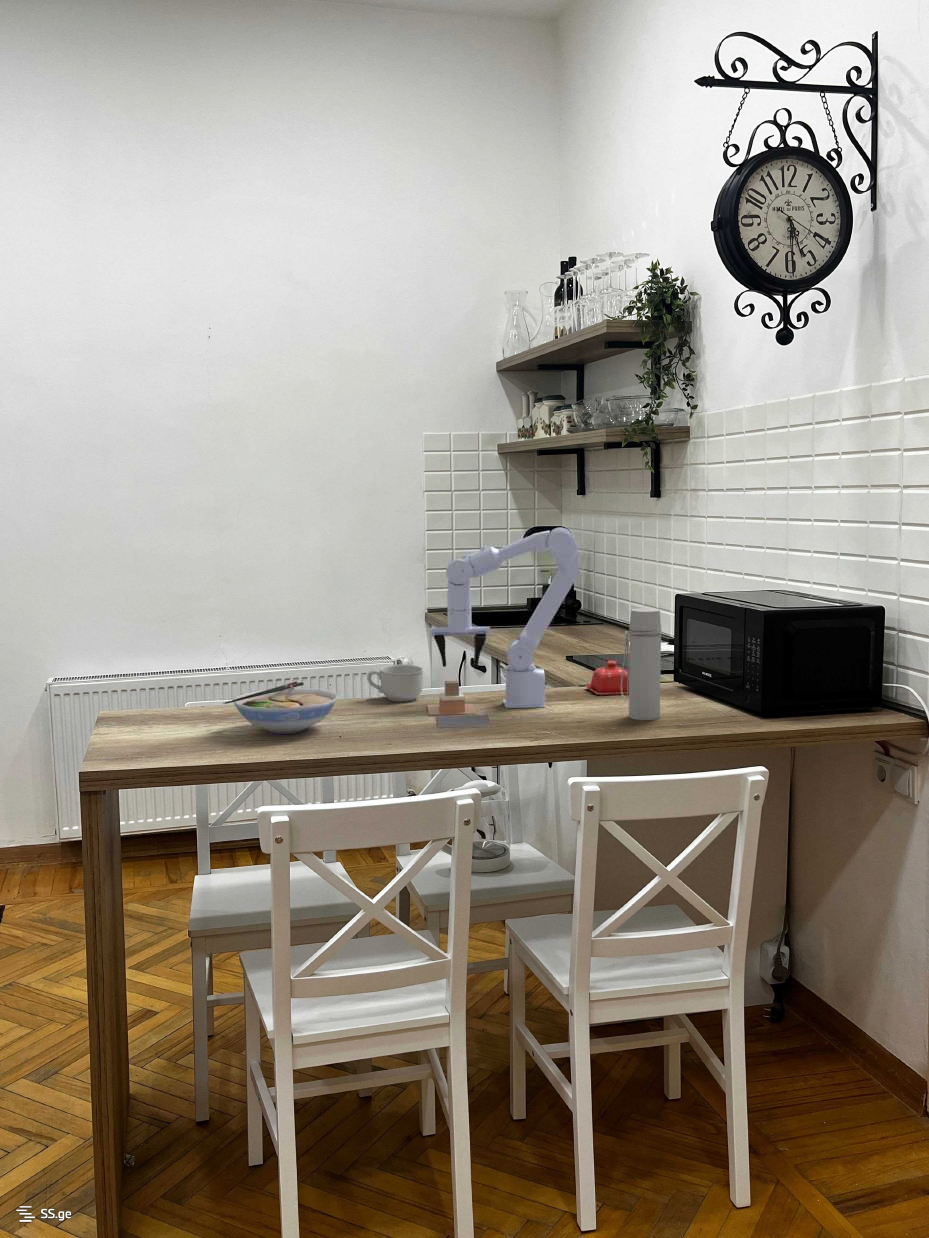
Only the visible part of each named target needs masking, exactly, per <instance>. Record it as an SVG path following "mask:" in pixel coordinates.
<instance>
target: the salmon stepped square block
mask: <svg viewBox="0 0 929 1238" xmlns="http://www.w3.org/2000/svg"><path fill="white" fill-rule="evenodd" d="M426 707H427V711H428V716H429V717H436V716H463V715H478V714H477V711H476V708H475V706H474V704H473V703H466V699H465V700H445V701H442V699H441V698H440V693H439V694H437V704H427V705H426Z"/></svg>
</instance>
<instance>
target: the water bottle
mask: <svg viewBox="0 0 929 1238" xmlns="http://www.w3.org/2000/svg"><path fill="white" fill-rule="evenodd" d="M660 611H661V610H660V609H658V608H650V607H649V608H645V607H641V608H632V609H631V610H630V617H629V619H630V620H629V626H628V627H629V628H628V629H629V630H625V631H624V634H625V638H626V641H625V645H624V652H623V653H624V654H623V660H622V661H623V662H622V677H621V685H620V686H621V694H620V696H621V698H627V697H628V718H629V719H632V720H639V721H651V720H653V721H655V720H658V719H660V718H661V671H662V669H661V668H662V667H661V666H662V662H661V661H662V659H661V658H662V655H661V653H662V634H660V633H662V631H663V630H662V622H661V612H660ZM625 661H626V671H627V694H625V695H624V694H623V692H622V681H623V672H624V670H625ZM628 693H629V694H628Z"/></svg>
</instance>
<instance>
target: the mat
mask: <svg viewBox="0 0 929 1238" xmlns="http://www.w3.org/2000/svg"><path fill="white" fill-rule="evenodd" d="M435 719H436V723H437V728H438V729H450V728H451V729H453V728H455V729H456V728H459V729H460V728H480V727H481V728H482V727H486V726H491V725H493V724H492V721H491V719H490V717H489V715H488V714H476V715H447V716H435Z"/></svg>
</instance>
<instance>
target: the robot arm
mask: <svg viewBox="0 0 929 1238" xmlns="http://www.w3.org/2000/svg"><path fill="white" fill-rule="evenodd" d="M547 548H548V550H549V551H550V553H551V554H552V555H551V556H553V558H554V559H555V564H556V566H557V573H556V574H555V575H554V577H553V580H551V583H550V584H549V586H548V588H547V589H546V591H545V593H544V594H543V596H542V598H541V600H540V601H539V602H538V604H537V606H536V608H535V610H534V612H533V613H532V615H531V617H530V618H529V620H528V622H527V624H526V625H525V627H524V628H523V629H522V631H521V632H520V634H519V636H518V637H517V638H515V639H513V640H512V641H511V642H510V644H509V645H508V649H507V652H506V653H507V654H506V660H507V663H508V664H507V665H506V666H505V699H503V700H502V703H503V705H504V707H505V708H506V709H524V708H528V709H529V708H546V674H545V670H544V668H537V667H536V665H535V664H534V663H533V662H534V656H535V651H536V649H537V647H538V646H539V643H540V641H541V639H542V637H543V636H544V634H545V633H546V631H547V628H548V627H549V625H550V624H551V622H552V620H553V619H554V617H555V615H556V614H557V612H558V610H559V608H560V606H561V605H562V603H563V602H564V600H565V598H566V596H567V594H568V593H569V592H570V590H571V588H572V586H573V585H574V583H575V581H576V580H577V578H578V576H579V573H580V567H579V566H580V565H579V563H580V562H579V551H578V550H579V549H578V544H577V542H576V540H575V537H574V536H573V534H572V532H571V531H570V530H569V529H567V528H564V527H556V528H553V529H551V531H550V530H546V531H545V530H544V531H540V532H537V533H533V534H531V535H529V536H525V537H524V538H521V539H520V540H517V541H515V542H511V544H508V545H505V546H503V547H500V548H495V547H494V546H488V547H487V546H486V545H485V546H481V547H480V550H478V551H476V552H475V551H474V552H473V553H471V554H468V555H467V554H466V553H464V554H463V555H462V556H461V557H462V559H461V558H459V559H454V560H453V561H450V563H448V565H447V567H446V571H445V572H446V573H445V575H446V578H447V579H448V581H447V592H446V594H447V595H446V597H447V600H446V601H447V603H446V605H447V607H446V608H447V626H441V627H430V628H429V630H428V631H429V632H428V633H429V634H428V635H429V637H430V638H433V639H434V642H435V643H436V646H437V649H438V650H439V651H438V652H439V654H440V658H441V662H442V663H441V664H442V667H443V668H444V667H447V660H446V659H447V657H446V637H459V636H460V637H462V636H463V637H464V636H471V637H472V636H473V642H474V643H473V645H474V655H473V656H474V657H473V664H474V666H475V667H478V666H479V661H480V657H481V653H482V650H483V647H484V645H485V643H486V640H487V637H486V636H491V626H473V624H472V591H471V580H470V579H471V578H474V579H476V578H479V577H482V576H485V575H486V574H490V573H492V572H494V571H496V570H500V569H501V566H502V564H503V562H504V561H508V560H510V559H513V558H516V557H519V556H521V555H524V554H527V553H530V552H533V551H537V552H542V553H546V552H547Z"/></svg>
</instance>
